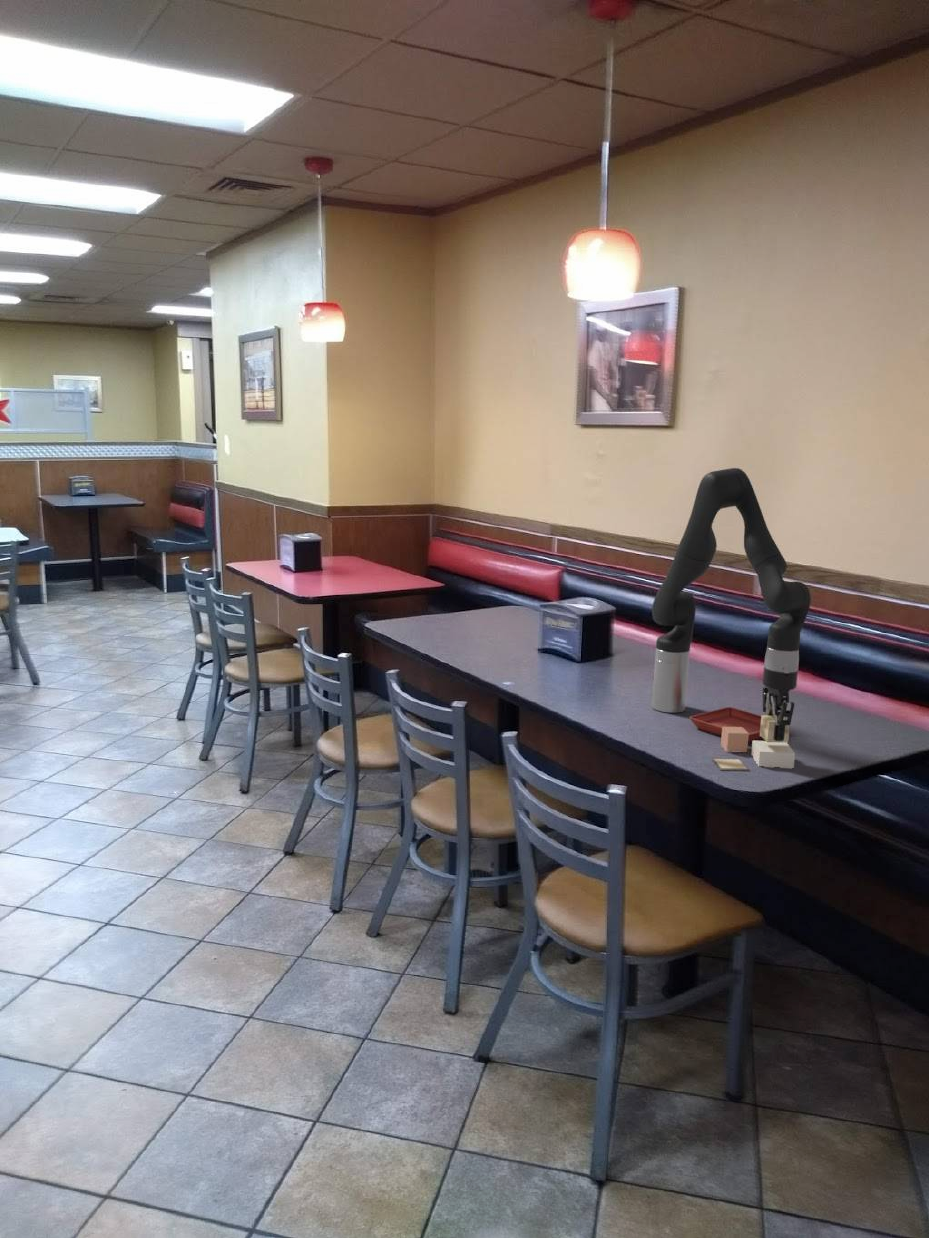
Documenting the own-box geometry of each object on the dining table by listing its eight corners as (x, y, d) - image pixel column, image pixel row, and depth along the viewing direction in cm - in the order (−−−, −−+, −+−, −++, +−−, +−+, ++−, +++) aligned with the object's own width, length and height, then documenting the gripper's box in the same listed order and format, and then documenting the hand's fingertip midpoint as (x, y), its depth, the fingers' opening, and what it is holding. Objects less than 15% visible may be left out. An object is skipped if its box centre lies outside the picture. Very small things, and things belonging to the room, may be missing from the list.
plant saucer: (728, 717, 255) (729, 705, 254) (786, 734, 241) (787, 722, 241) (686, 728, 244) (687, 716, 243) (745, 748, 230) (746, 735, 229)
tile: (711, 760, 219) (711, 758, 219) (739, 760, 220) (740, 758, 220) (720, 770, 213) (720, 768, 213) (749, 770, 213) (749, 769, 213)
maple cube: (759, 735, 221) (761, 715, 220) (780, 735, 221) (782, 715, 220) (767, 742, 216) (769, 721, 215) (788, 742, 216) (790, 722, 215)
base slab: (751, 756, 224) (752, 740, 223) (784, 757, 223) (786, 742, 223) (758, 767, 216) (760, 751, 215) (793, 769, 216) (795, 753, 215)
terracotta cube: (720, 745, 230) (722, 726, 229) (740, 746, 230) (742, 727, 229) (726, 752, 225) (728, 733, 224) (747, 753, 225) (748, 733, 224)
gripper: (754, 659, 222) (748, 726, 225) (776, 674, 208) (769, 746, 211) (785, 659, 222) (778, 727, 226) (809, 675, 208) (801, 746, 212)
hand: (774, 736), depth 218 cm, fingers closed on maple cube, 5 cm apart
